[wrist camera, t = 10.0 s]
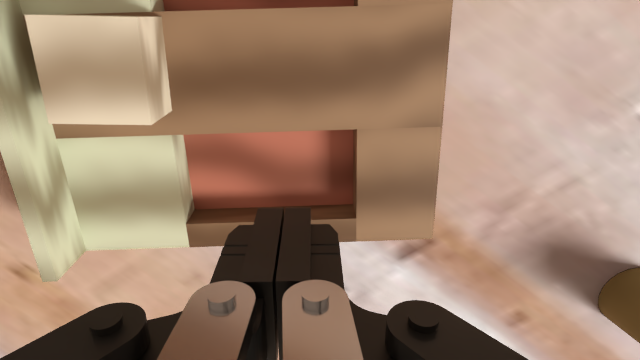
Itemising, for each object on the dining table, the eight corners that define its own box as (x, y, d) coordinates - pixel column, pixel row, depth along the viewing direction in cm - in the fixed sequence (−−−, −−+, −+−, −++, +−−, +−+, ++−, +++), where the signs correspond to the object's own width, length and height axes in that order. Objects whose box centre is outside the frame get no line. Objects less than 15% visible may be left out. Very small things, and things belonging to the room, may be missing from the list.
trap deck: (-5, -143, 26) (-112, -196, 19) (450, -153, 26) (497, -209, 19) (91, 232, 35) (42, 281, 29) (423, 221, 36) (448, 267, 29)
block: (64, 14, 26) (24, 14, 23) (161, 16, 26) (137, 16, 23) (82, 109, 28) (48, 123, 25) (172, 110, 29) (151, 125, 25)
